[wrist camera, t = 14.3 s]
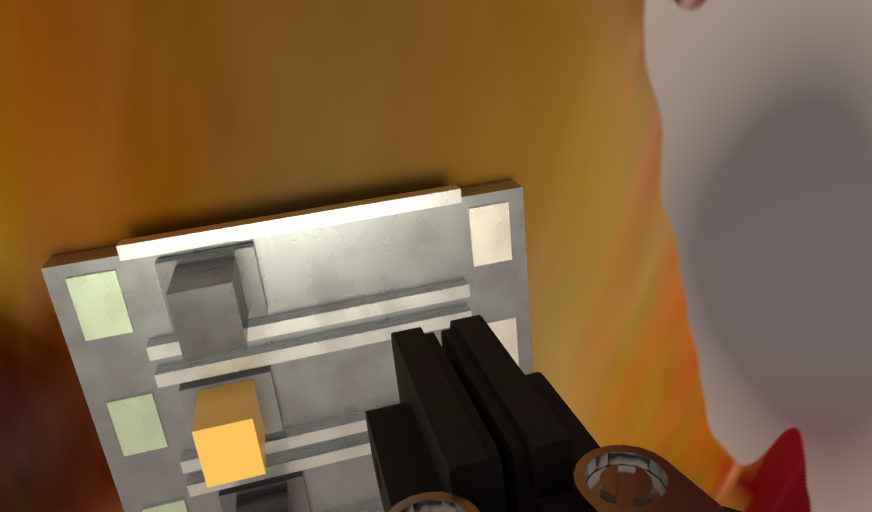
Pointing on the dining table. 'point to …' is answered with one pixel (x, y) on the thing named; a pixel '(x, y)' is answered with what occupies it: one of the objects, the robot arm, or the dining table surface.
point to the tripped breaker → (232, 422)
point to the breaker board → (283, 334)
